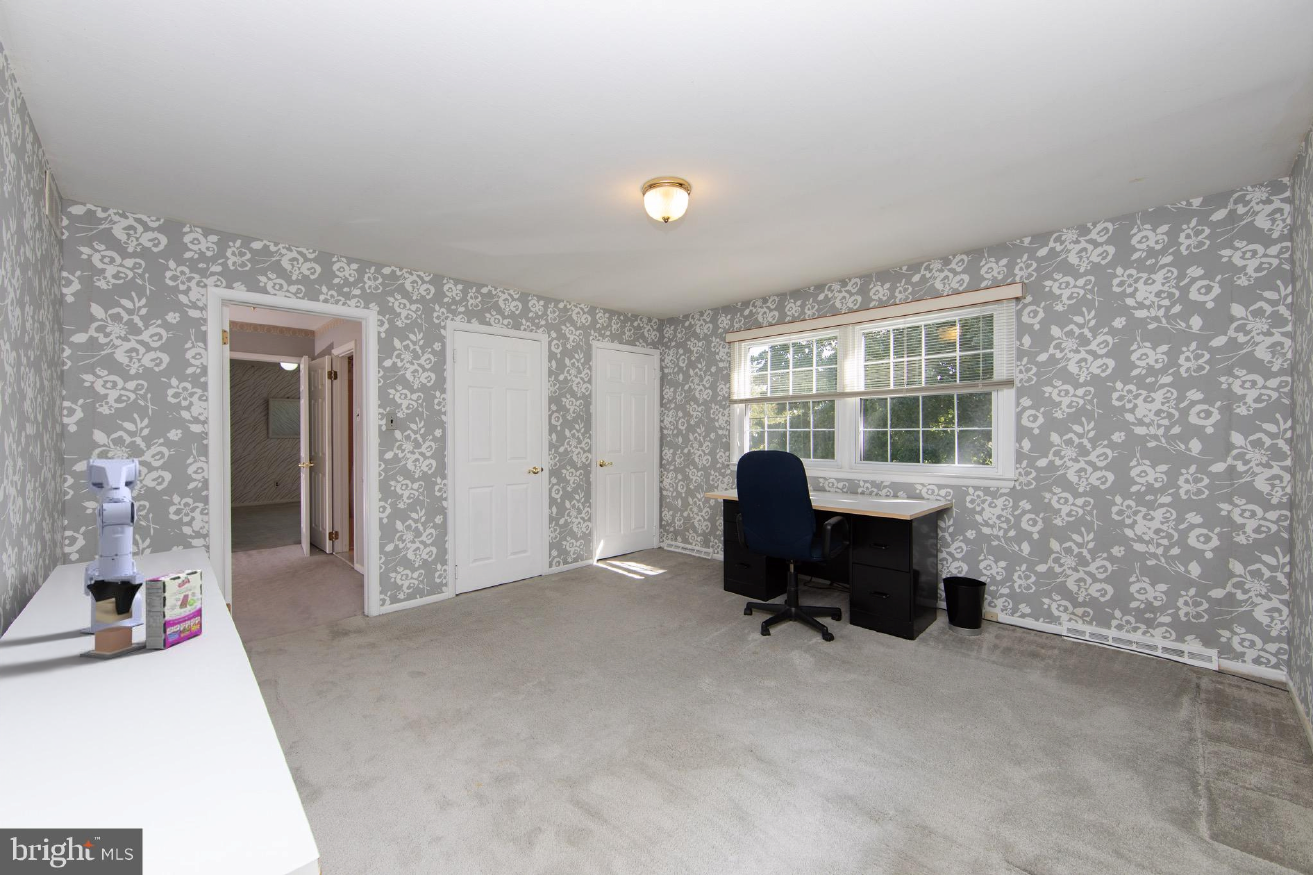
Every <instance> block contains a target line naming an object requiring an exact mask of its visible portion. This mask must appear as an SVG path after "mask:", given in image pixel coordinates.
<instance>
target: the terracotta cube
mask: <svg viewBox="0 0 1313 875" xmlns="http://www.w3.org/2000/svg"><path fill="white" fill-rule="evenodd" d="M132 643H133V626H132V627H131V626H118V625H117V626H113V627H109V628H106V629H102V630H99V631H95V633H94V649H95V651H97V652H108V653H111V652H114V651H117V650H121V649H124V648H127V647H130V646H132Z"/></svg>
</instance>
